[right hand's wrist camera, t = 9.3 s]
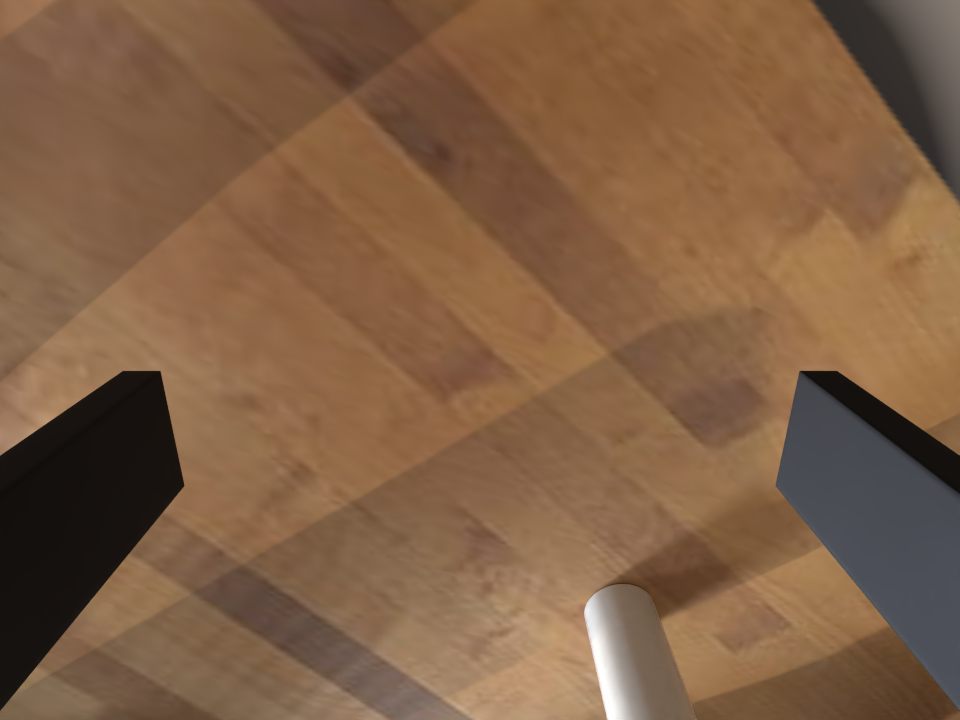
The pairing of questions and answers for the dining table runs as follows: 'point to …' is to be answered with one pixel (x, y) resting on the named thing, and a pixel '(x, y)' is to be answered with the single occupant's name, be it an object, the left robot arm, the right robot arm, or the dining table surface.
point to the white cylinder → (634, 657)
